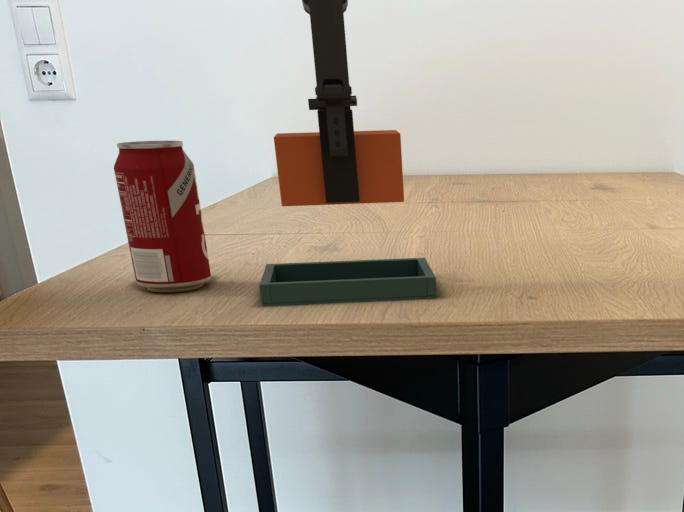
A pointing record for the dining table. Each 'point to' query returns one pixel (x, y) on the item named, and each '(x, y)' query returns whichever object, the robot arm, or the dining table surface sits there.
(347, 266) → the dark green tray
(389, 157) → the orange rectangular block
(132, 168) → the soda can
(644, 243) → the dining table surface
